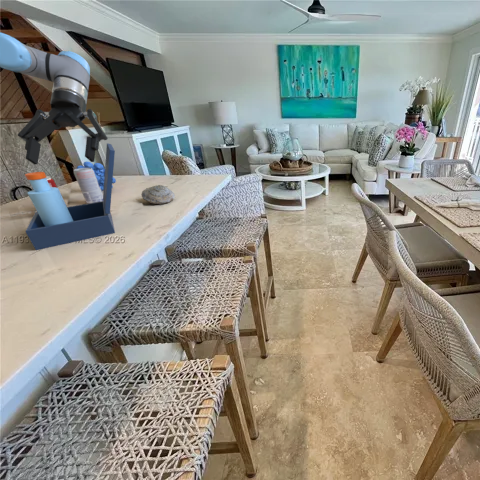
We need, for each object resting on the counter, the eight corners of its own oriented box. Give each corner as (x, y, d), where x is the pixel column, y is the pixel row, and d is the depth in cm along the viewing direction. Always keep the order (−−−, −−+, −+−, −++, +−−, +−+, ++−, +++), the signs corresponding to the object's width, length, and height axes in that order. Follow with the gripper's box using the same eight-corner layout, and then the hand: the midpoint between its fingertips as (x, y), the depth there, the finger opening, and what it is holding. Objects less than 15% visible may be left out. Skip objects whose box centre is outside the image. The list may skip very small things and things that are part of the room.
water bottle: (49, 240, 68) (16, 177, 60) (51, 232, 71) (20, 172, 64) (77, 234, 71) (49, 173, 63) (78, 227, 75) (51, 169, 67)
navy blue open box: (37, 253, 63) (25, 231, 61) (45, 231, 74) (35, 212, 72) (116, 235, 72) (108, 215, 69) (112, 218, 83) (105, 200, 80)
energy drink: (102, 199, 100) (89, 166, 94) (107, 201, 97) (94, 168, 91) (84, 202, 96) (70, 169, 90) (90, 205, 93) (75, 171, 88)
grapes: (82, 195, 104) (68, 164, 98) (85, 191, 109) (73, 161, 103) (117, 191, 108) (106, 161, 103) (119, 187, 114) (109, 158, 108)
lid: (109, 149, 65) (114, 150, 65) (106, 143, 76) (111, 144, 76) (105, 213, 69) (109, 213, 69) (102, 198, 80) (107, 199, 80)
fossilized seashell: (138, 202, 91) (138, 182, 90) (145, 203, 100) (145, 185, 100) (173, 204, 95) (173, 185, 94) (177, 205, 104) (177, 187, 104)
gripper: (123, 108, 84) (119, 165, 78) (30, 109, 79) (19, 170, 73) (109, 88, 77) (104, 149, 71) (7, 88, 72) (-9, 153, 66)
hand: (61, 160), depth 72 cm, fingers open, 13 cm apart
